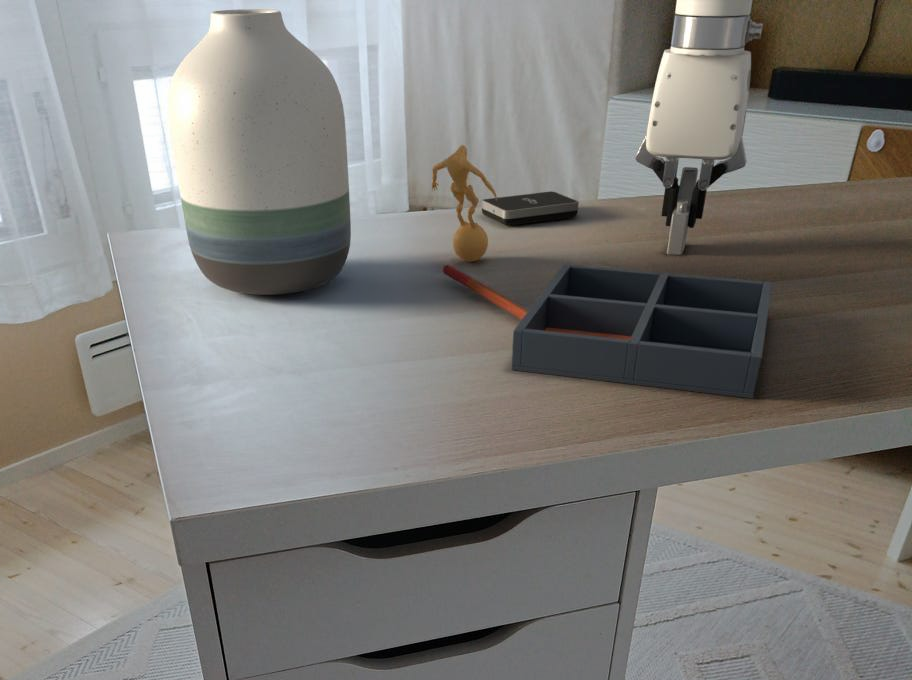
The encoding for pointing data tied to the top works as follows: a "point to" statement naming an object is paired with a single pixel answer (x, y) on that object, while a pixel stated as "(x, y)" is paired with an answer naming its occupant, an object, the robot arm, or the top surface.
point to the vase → (260, 157)
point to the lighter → (682, 211)
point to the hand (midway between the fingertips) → (680, 223)
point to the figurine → (468, 236)
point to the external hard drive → (530, 208)
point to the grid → (647, 330)
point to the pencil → (486, 292)
